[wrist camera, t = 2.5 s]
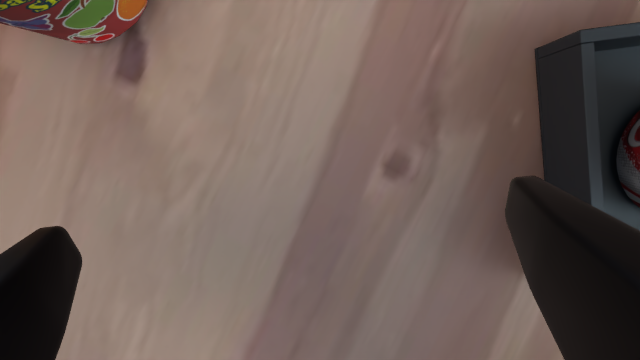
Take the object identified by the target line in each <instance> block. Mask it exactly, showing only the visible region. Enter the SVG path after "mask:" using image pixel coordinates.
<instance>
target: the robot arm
mask: <svg viewBox="0 0 640 360" xmlns="http://www.w3.org/2000/svg"><path fill="white" fill-rule="evenodd" d="M505 217H506V222H507V225H508V227H509V230H510V233H511V236H512V239H513V242H514V245H515V248H516V250H517V253H518V256H519V259H520V262H521V265H522V268H523V271H524V273H525V276H526V279H527V282H528V284H529V287H530V289H531V291H532V294H533V296H534V298H535V300H536V302H537V304H538V306H539V308H540V310H541V312H542V314H543V317H544V319H545V321H546V323H547V325H548V327H549V329H550V331H551V333H552V335H553V337H554V339H555V341H556V343H557V345H558V347H559V349H560V351H561V353H562V355H563V357H564V360H640V231H639V230H637V229H636V228H634V227H632V226H630V225H628V224H626V223H624V222H622V221H620V220H618V219H617V218H615V217H613V216H611V215H609V214H607V213H605V212H603V211H601V210H599V209H598V208H596V207H594V206H592V205H590V204H588V203H586V202H584V201H582V200H580V199H579V198H577V197H575V196H573V195H571V194H569V193H567V192H565V191H563V190H561V189H560V188H558V187H556V186H554V185H552V184H550V183H548V182H546V181H544V180H542V179H541V178H539V177H536V176H524V177H516V178H514V179H512V181H511V183H510V187H509V192H508V198H507V203H506V208H505ZM81 267H82V257H81V254H80V252H79V250H78V248H77V247H76V245H75V244H74V242H73V240H72V239H71V237H70V236H69V234H68V232H67V231H66V230H65V229H64V228H63V227H60V226H54V227H44V228H40V229H38V230H36V231H35V232H33V233H32V234H30V235H29V236H27V237H26V238H24V239H23V240H21V241H20V242H18V243H17V244H15V245H14V246H12V247H11V248H9V249H8V250H6V251H5V252H3V253H2V254H0V360H55V359H56V356H57V353H58V351H59V348H60V345H61V342H62V339H63V336H64V333H65V330H66V326H67V323H68V319H69V315H70V311H71V307H72V303H73V299H74V295H75V291H76V287H77V283H78V279H79V275H80V271H81Z"/></svg>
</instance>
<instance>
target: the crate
mask: <svg viewBox="0 0 640 360" xmlns="http://www.w3.org/2000/svg"><path fill="white" fill-rule="evenodd" d="M535 57H536V70H537V84H538V97H539V111H540V124H541V137H542V151H543V164H544V177H545V181H546V182H548V183H550V184H552V185H554V186H556V187H558V188H560V189H561V190H563V191H565V192H567V193H569V194H571V195H573V196H575V197H577V198H579V199H580V200H582V201H584V202H586V203H588V204H590V205H592V206H594V207H596V208H598V209H599V210H601V211H603V212H605V213H607V214H609V215H611V216H613V217H615V218H617V219H618V220H620V221H622V222H624V223H626V224H628V225H630V226H632V227H634V228H636V229H637V230H639V231H640V208H639V207H638V206H637V205H636V204H635V203H634V202H633V201H632V200H631V199H630V198H629V197H628V196H627V194H626V192H625V191H624V189H623V187H622V185H621V182H620V180H619V176H618V172H617V162H616V158H617V149H618V145H619V141H620V138H621V136H622V134H623V132H624V129H625V128H626V126H627V125H628V123H629V121H630V120H631V119H632V118H633V117H634V116H635V114H636V113H637V112H638V111H639V110H640V22H637V23H629V24H622V25H614V26H607V27H599V28H592V29H584V30H579V31H577V32H575V33H572V34H570V35H567V36H565V37H563V38H560V39H558V40H556V41H553V42H551V43H548V44H546V45H544V46H541V47H539V48H536V49H535Z"/></svg>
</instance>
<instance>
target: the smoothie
mask: <svg viewBox="0 0 640 360" xmlns="http://www.w3.org/2000/svg"><path fill="white" fill-rule="evenodd" d="M147 1H148V0H0V23H2V24H6V25H10V26H14V27H17V28H21V29H25V30H29V31H33V32H37V33H41V34H45V35H49V36H53V37H57V38H60V39H64V40H68V41H72V42H76V43H79V44H88V43H102V42H105V41H107V40H110V39H112V38H115V37H117V36H120V35H121V34H122V33H123V32H125V31H126V30H127V29H129V28H130V27H131V26H132V25H133V24H135V23H136V22H137V21H138V19H139V18H140V16H141V14H142V13H143V11H144V9H145V8H146V5H147Z"/></svg>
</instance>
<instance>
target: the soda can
mask: <svg viewBox="0 0 640 360" xmlns="http://www.w3.org/2000/svg"><path fill="white" fill-rule="evenodd" d="M616 162H617V172H618V176H619V180H620V182H621V185H622V187H623V189H624V191H625V192H626V194H627V196H628V197H629V198H630V199H631V200H632V201H633V202H634V203H635V204H636V205H637V206H638V207H639V208H640V110H639V111H638V112H637V113H636V114H635V116H634V117H633V118H632V119H631V120H630V121H629V123H628V125H627V126H626V128H625V129H624V132H623V134H622V136H621V138H620V141H619V145H618V149H617V158H616Z"/></svg>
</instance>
